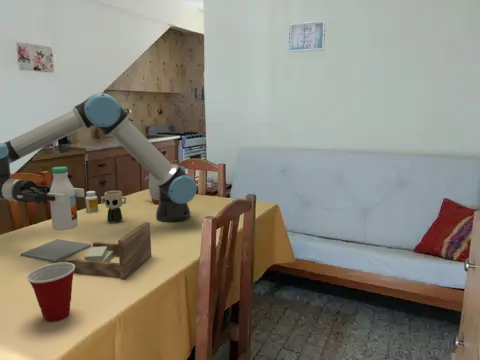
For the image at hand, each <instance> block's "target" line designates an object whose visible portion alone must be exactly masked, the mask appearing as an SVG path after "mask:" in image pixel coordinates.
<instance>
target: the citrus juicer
mask: <svg viewBox="0 0 480 360" xmlns="http://www.w3.org/2000/svg"><path fill="white" fill-rule="evenodd" d="M144 181H148V191H149V195H150V198H151V200H152V202H153V203H154V204H156V205H159V187H158V186H157V185H156V179H155V178H154V177H153V176H152V175H151V174H150V173H149V172H148V171H147V175H146V177H145V178H144Z"/></svg>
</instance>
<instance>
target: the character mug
mask: <svg viewBox="0 0 480 360" xmlns="http://www.w3.org/2000/svg"><path fill="white" fill-rule="evenodd" d="M103 194H104V196H102V195H101V196H100V203H101V205H104V206H105V207H106V208H107V209H108V210H107V217H106V218H107V220H106V221H107V223H108V222H109V223H119V222H121V221H123V214H122V209H121V207H122V206H123V205H126V204H127V197H126V196H123V193H122V191H120V190H110V191H109V190H108V191H105V192H104V193H103Z"/></svg>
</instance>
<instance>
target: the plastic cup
mask: <svg viewBox="0 0 480 360" xmlns="http://www.w3.org/2000/svg"><path fill="white" fill-rule="evenodd" d="M74 269H75V265H74V264H73V263H68V262H65V261H63V262H57V263H54V262H53V263H50V264H49V263H48V264H46V265H43V266H41V267H37V268H35V269H34V270H32V271H30V272H29V273H28V274H27V275H26V276H25V277H26V280H27V282H28V283H30V285H31V288H32V289H33V291H34V295H35V298H36V300H37V302H38V307H39V309H40V312H41V314H42V317H43V319H44V320H45V321H46V322H58V321H61V320H64V319H65V318H68V316H69V314H70V311H71V301H72V293H73V292H72V291H73V280H74V273H73V272H74Z"/></svg>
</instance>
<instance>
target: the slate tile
mask: <svg viewBox="0 0 480 360" xmlns="http://www.w3.org/2000/svg"><path fill="white" fill-rule="evenodd" d="M91 247H92V244H90V243H86V242H78V241H74V240H73V241H71V240H67V239H60V238H56V239H54V240H51V241H49V242H47V243H44V244H42V245H39V246H36V247H35V248H31V249H29V250H26V251H24V252H21V253H20V254H19V257H22V258H23V257H24V258H29V259H34V260H37V261H38V260H39V261H45V262H50V263H53V264H54V263H60V262H61V261H63V260H66V259H68V258H69V257H71V256H73V255H76V254H79V253H80V252H82V251H84V250H87V249H90V248H91Z"/></svg>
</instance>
